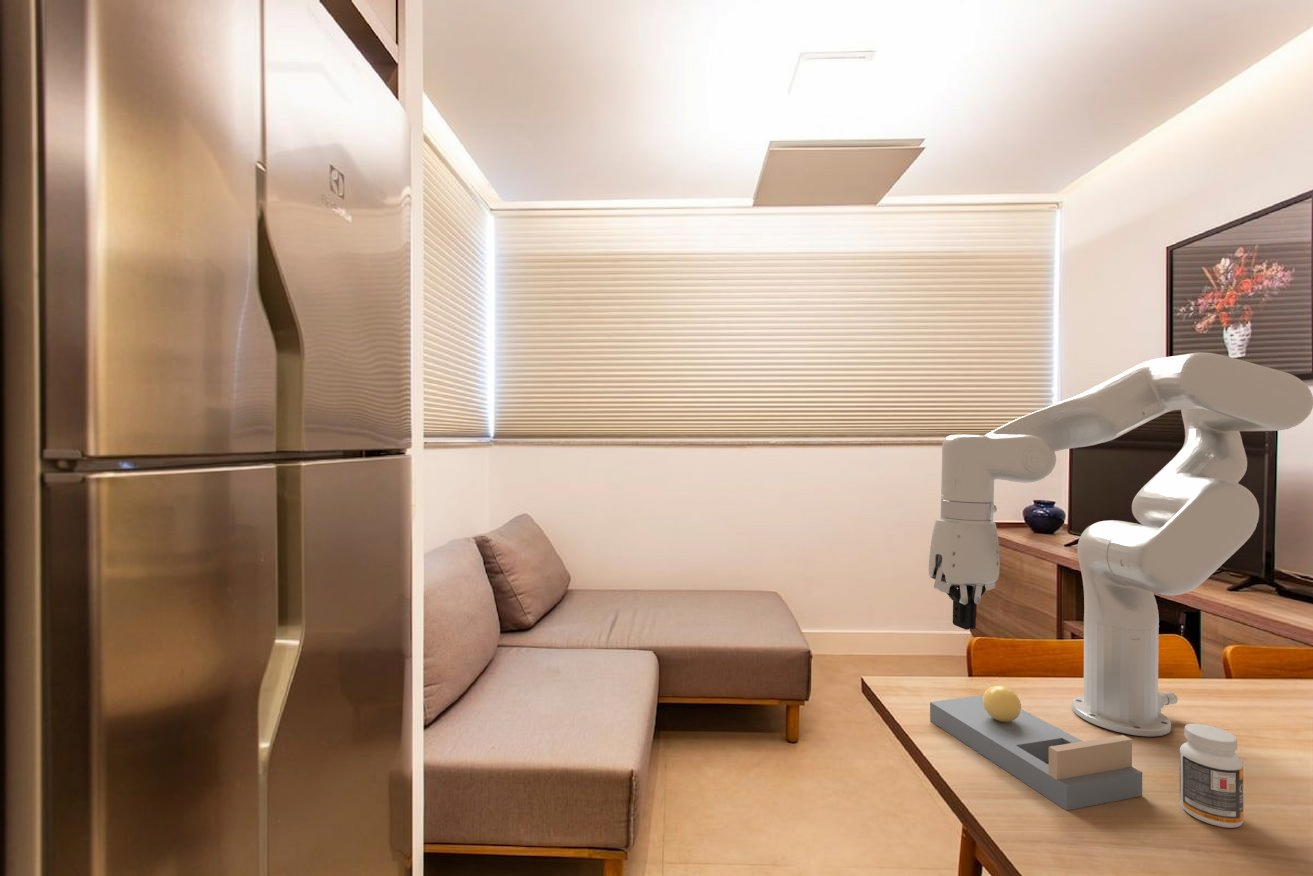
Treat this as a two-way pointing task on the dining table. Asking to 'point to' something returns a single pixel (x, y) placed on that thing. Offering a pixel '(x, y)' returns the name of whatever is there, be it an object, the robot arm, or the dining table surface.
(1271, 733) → the dining table surface
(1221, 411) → the robot arm
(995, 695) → the ball
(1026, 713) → the board
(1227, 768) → the pill bottle
